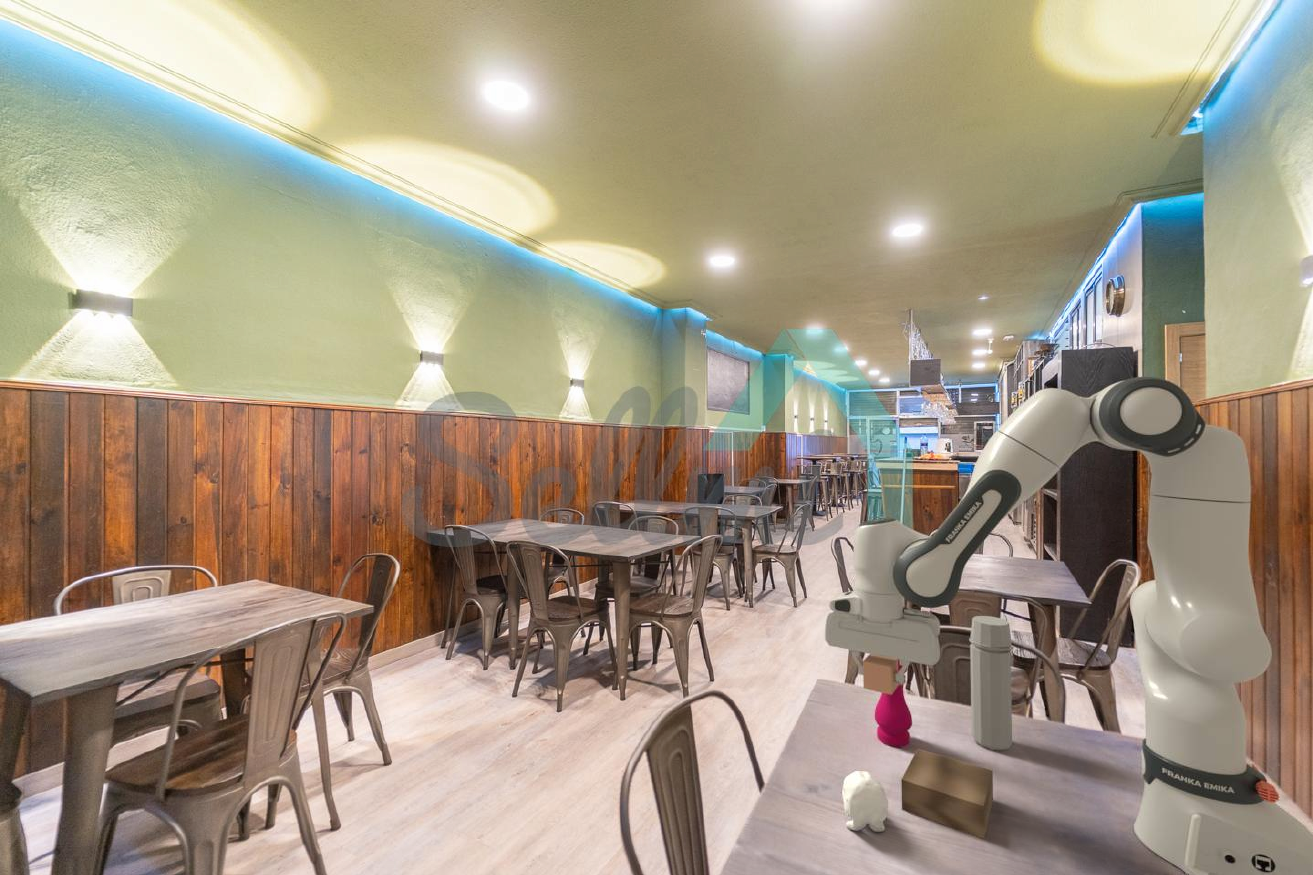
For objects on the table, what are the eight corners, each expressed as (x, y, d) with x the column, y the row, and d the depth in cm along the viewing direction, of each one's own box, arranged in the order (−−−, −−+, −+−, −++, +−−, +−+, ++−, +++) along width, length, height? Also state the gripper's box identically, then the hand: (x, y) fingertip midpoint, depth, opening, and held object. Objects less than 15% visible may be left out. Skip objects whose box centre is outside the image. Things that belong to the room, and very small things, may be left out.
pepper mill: (918, 748, 114) (917, 648, 114) (882, 748, 114) (881, 648, 114) (903, 730, 121) (902, 636, 122) (869, 730, 121) (868, 636, 122)
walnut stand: (993, 799, 98) (992, 770, 98) (984, 838, 88) (983, 806, 88) (917, 775, 105) (917, 748, 105) (901, 809, 95) (901, 779, 95)
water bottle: (1001, 757, 111) (998, 628, 111) (962, 739, 118) (960, 618, 118) (1027, 744, 115) (1024, 621, 116) (988, 728, 122) (986, 611, 122)
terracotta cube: (898, 685, 107) (897, 658, 107) (891, 694, 103) (890, 667, 103) (871, 679, 110) (870, 653, 110) (863, 688, 106) (862, 661, 106)
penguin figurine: (847, 781, 88) (832, 748, 100) (849, 840, 87) (834, 799, 99) (889, 784, 88) (869, 750, 99) (892, 843, 87) (871, 802, 98)
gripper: (942, 608, 103) (944, 685, 103) (832, 593, 116) (833, 661, 115) (936, 617, 98) (938, 697, 98) (821, 600, 111) (822, 671, 110)
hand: (880, 677), depth 107 cm, fingers closed on terracotta cube, 5 cm apart
